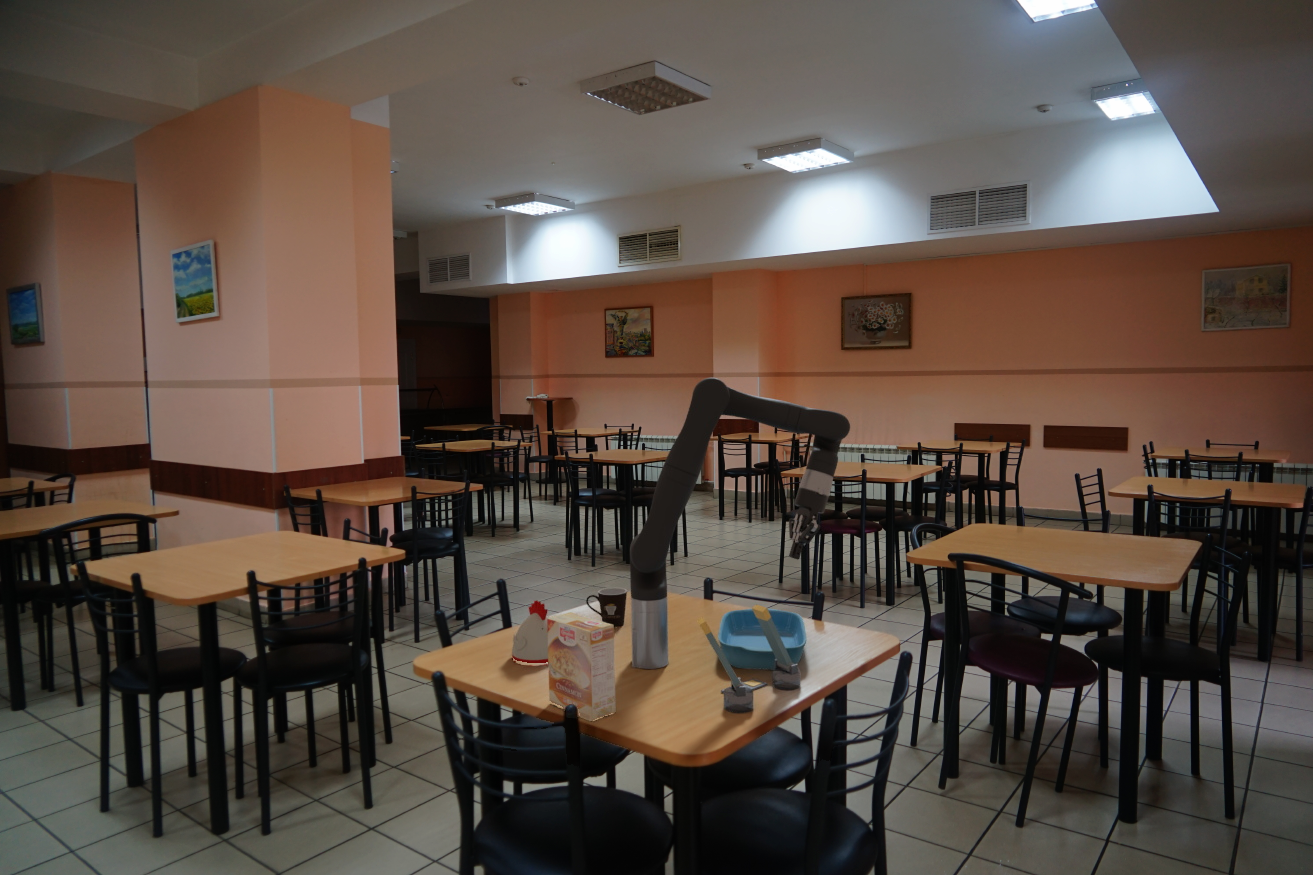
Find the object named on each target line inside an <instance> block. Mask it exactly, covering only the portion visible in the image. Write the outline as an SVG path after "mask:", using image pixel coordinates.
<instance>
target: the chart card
mask: <svg viewBox="0 0 1313 875" xmlns="http://www.w3.org/2000/svg"><path fill="white" fill-rule="evenodd" d="M741 682H742V684H743V685H744V686H745V687H748V688H750V689H752V690H753V691H755V690H758V689H760V688H763V687H766V686H768V682H766V681H763V680H759V679H757V678H751V679H748V680H746V681H745V680H744V681H741ZM724 689H725V688H723V689H720V692H721V693H723V694H724Z"/></svg>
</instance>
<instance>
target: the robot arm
mask: <svg viewBox="0 0 1313 875" xmlns="http://www.w3.org/2000/svg"><path fill="white" fill-rule="evenodd" d="M722 416H729V417H730V416H731V417H735V418H740V419H746V420H750V421H752V422H756V423H759V424H763V425H766V426H769V427H772V428H776V429H779V430H783V431H786V432H790V433H794V434H799V435H802V434H803V435H804V434H806V435H811V436H814V438H813V442H812V449H811V453H810V455H809V458H808V460H807V464H806V467H805V471H804V472H803V475H802V477H801V480H800V482H799V483H800V484H799V487H798V490H797V494H796V497H795V499H794V505H795V506H796V507H798V509H797V511H796V513H795V516H794V517H793V518H789V520H788V529H789V530H788V532H789V539H791V542H792V545H791V548H790V551H789V553H788V556H789V558H791V559H794V560H797V561H798V560H799V559H800V557H801V555H802V552H803V547H804V546H805V545H806V544H810V542H812V540H813V539H814V538H815V536H816V535H817V533H819V531H820V529H821V525H819V524H817V521H818V518H819V517H818V516H819V514H824V513H825V510H826V508H827V505H828V504H827V503H828V501H829V498H830V493H831V490H832V487H833V480H834V476H835V473H836V470H837V466H838V463H839V457H838V454H839V450H840V447H841V444H842V443H841V442H842V440H844V439H845V438H846V437H847V436H848V435H849V433H850V430H851V424H850V420H849V419H848V418H847V417H846V416H845V415H844V414H843V413H840V412H836V411H834V410H833V411H832V410H827V409H819V408H811V407H808V406H805V405H800V404H797V403H793V402H789V401H785V400H780V399H777V398H776V399H774V398H771V397H770V398H769V397H763V396H758V395H752V394H750V393H749V394H748V393H746V392H745V393H744V392H741V391H739V390H736V389H734V388H731V387H730V386H727V385H726V383H725V382H723V381H722V380H721V379H719V378H717V377H706V378H703V379H702V380H700V381H699V382H698V383H697V384H696V385H695V386H694V388H693V392H692V396H691V400H690V403H689V407H688V411H687V414H686V418H685V419H684V423H683V426H682V428H681V429H680V432H679V434H678V435H677V436H676V438H675V440H674V442H673V444H672V446H671V449H670V450H669V452H668V455H667V456H666V458H665V460H664V463H663V466H662V467H661V471H660V473H659V476H658V479H657V481H656V485H655V488H654V491H653V492H654V493H653V496H652V501H651V502H652V503H651V505H650V510H649V513H648V516H647V518H646V521H645V523H644V525H643V526H642V529H641V531H640V533H638V534H636V535H635V536H634V538H633V539H632V540H631V543H630V544H629V546H630V547H629V568H630V570H629V572H630V573H629V574H630V575H629V576H630V578H629V580H630V581H629V582H630V606H631V608H630V610H631V611H630V612H631V613H630V614H631V622H630V624H631V627H630V628H631V663H632V664H631V665H632V668H638V669H645V670H653V669H659V668H663V667H666V666H667V665H668V664H669V655H670V654H669V626H668V625H669V624H668V623H669V621H668V619H669V618H668V616H669V614H668V582H667V581H668V580H667V579H668V578H667V557H668V552H669V549H670V546H671V543H672V539H673V536H674V532H675V530H676V526H677V525H678V522H679V520H680V518H681V516H682V514H683V513H684V510H685V508H686V506H687V504H688V503H689V500H690V497H691V496H692V494H693V491H694V489H695V487H696V484H697V481H698V479H699V476H700V474H701V472H702V468H703V465H704V461H705V458H706V456H707V452H708V448H709V445H710V441H711V438H712V435H713V432H714V430H715V428H716V426H717V424H718V422H719V420H720V418H721V417H722Z"/></svg>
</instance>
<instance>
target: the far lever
mask: <svg viewBox="0 0 1313 875" xmlns="http://www.w3.org/2000/svg"><path fill="white" fill-rule="evenodd" d="M751 609H752V610H753V612H754V614H755V616H756V618H757V619H758V622H759V624H760V626H761V628H762V630H763V632H764V634H765V636H766V638H767V640H768V643H769V645H770V647H771V649H772V651H773V653H774V655H775V657H776V659H777V665H778V666H779V667H781V668H783V669H786V670H788V671H790V665H794V663H792V661H791V659H790V657H789V654H788V652H787V650H786V648H785V646H784V644H783V642H782V640H781V637H780V635H779V633H778V631H777V629H776V627H775V625H774V623H773V620H772V618H771V615H770V613H769V611H768V609H769V608H767V607H765V606H762V605H758V604H755V605H753V607H752V608H751Z"/></svg>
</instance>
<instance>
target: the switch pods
mask: <svg viewBox="0 0 1313 875" xmlns="http://www.w3.org/2000/svg"><path fill="white" fill-rule="evenodd" d="M771 671H772V672H771V674H772V687H773V688H775V689H778V690H781V691H796V690H798V689H799V688H801V670H800V668H799V664H798V663H797V664H794V665H790V671H788V670H786V669H783V668H781V667H779V666H778V665H777V659H775V668H773V670H771ZM738 678H739V679H740V680H741V677H738ZM730 680H731V679H730ZM741 681H742V680H741ZM723 689H724V693H723V709H724V710H725V711H726V712H729V713H732V714H746V713H749V712H751V711H753V710H754V690H752V689H750V688H748V687H745V686H736V690H735V688H734V686H733V685H732V680H731V681H730V686H729V687H726V688H723Z"/></svg>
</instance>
